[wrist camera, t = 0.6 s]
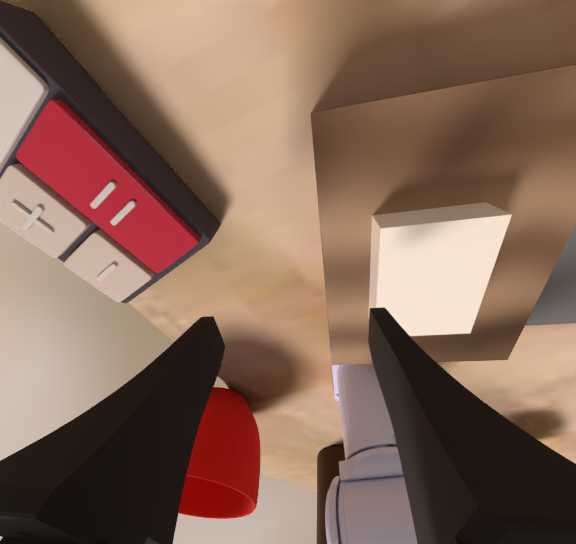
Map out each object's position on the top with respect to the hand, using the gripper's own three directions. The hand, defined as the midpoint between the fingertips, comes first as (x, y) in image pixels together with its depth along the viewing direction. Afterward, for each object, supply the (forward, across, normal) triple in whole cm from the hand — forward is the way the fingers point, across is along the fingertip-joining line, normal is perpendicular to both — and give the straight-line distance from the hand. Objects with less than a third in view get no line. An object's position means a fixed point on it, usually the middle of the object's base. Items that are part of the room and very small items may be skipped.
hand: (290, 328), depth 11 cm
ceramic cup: (+10, +14, +24) cm, 30 cm away
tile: (+6, -8, +1) cm, 10 cm away
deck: (+9, -9, +1) cm, 13 cm away
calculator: (+10, +14, -6) cm, 18 cm away
